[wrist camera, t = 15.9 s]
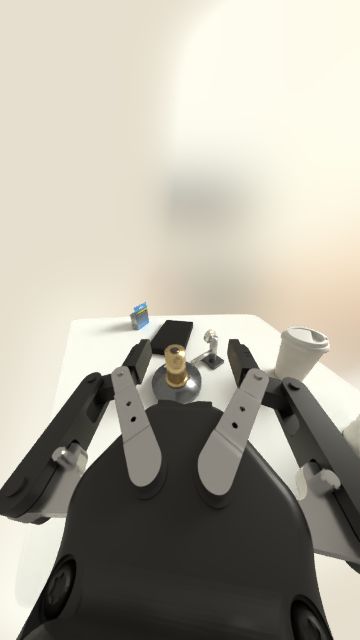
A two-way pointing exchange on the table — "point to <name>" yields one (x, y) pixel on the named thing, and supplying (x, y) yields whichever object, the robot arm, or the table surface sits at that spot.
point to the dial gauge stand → (210, 352)
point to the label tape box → (139, 317)
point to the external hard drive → (171, 336)
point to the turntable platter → (178, 395)
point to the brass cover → (175, 366)
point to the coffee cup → (300, 352)
